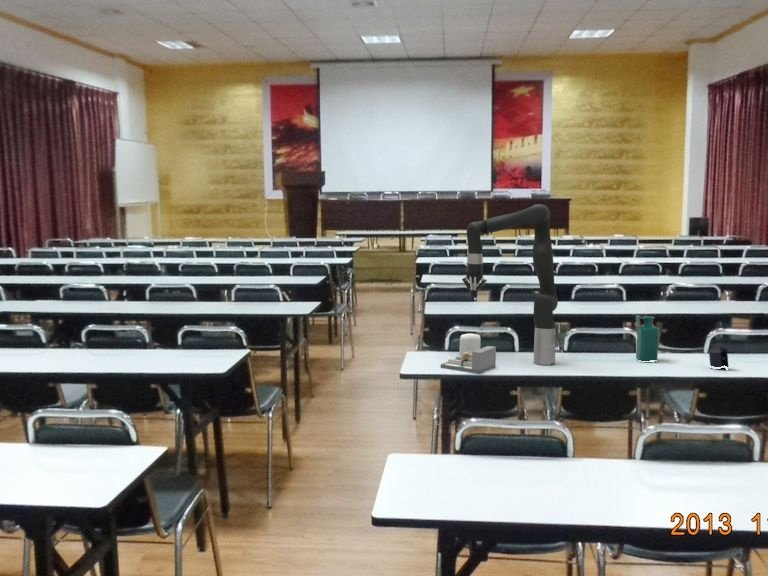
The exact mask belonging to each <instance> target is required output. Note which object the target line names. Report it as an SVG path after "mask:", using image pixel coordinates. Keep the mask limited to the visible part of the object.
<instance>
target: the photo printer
mask: <svg viewBox="0 0 768 576" xmlns="http://www.w3.org/2000/svg"><path fill="white" fill-rule="evenodd" d="M478 349H481V335H480V334H476V333H464V334H461V335H460V337H459V354H458V356H461V357H462V353H465V352H468V351H469V352H473V351H475V350H478Z"/></svg>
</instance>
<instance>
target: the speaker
mask: <svg viewBox="0 0 768 576" xmlns="http://www.w3.org/2000/svg"><path fill="white" fill-rule="evenodd" d="M728 355H729V354H728V348H726V347H722V346H719V349H711V350H709V351H708V357H709V365H711V366H714V367H721V366H724V365H725V366H727V367H729V356H728Z"/></svg>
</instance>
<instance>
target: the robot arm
mask: <svg viewBox="0 0 768 576" xmlns="http://www.w3.org/2000/svg"><path fill="white" fill-rule="evenodd" d="M530 224H532V225H533V230H534V231H533V232H534V237H533V238H534V240H533V245H532V261H533V264H532V265H533V269H534V273H535V274H536V278H537V279H538V283H539V295H537V296H536V297H535V299H534V303H533V322H534V340H533V341H534V342H533V344H534V345H533V363H534V364H536V365H541V366H552V365H554V364H555V363H556V345H557V343H555V336H556V335H555V329H556V323H555V321H554V313H553V312H554V311H556V309H557V307H558V301H559V300H558V296H557V291H556V286H555V285H556V284H555V272H554V271H555V270H554V268H555V267H554V255H553V254H554V253H553V245H552V238H551V211H550V209H549V207H548V206H547V205H546V204H543V203H542V204H541V203H536V204H533V205H531V206H529V207H527V208H525V209H522V210H519V211H515V212H513V213H508V214H507V213H506V214H502V215H498V216H492V217H490V218H487V219H484V220H479V221H472V222H470V223H468V225H467V227H466V238H467V245H468V246H467V257H466V263H467V264H466V276H465V277H463V278H462V279H461V280H462V282H463V283H464V285H465V286H466V288H467V289H468V290H470V297H471V298H472V299H476V298H477V297H478V291H479V290H481V289H482V288H483V287H484V286H485V284H486V283H487V282H488V280H487V279H486V278H484V275H483V269H484V267H483V266H484V265H483V262H484V258H483V257H484V256H483V242H482V241H481V239H482V238H481V236H483V235H487V234H490V233H495V232H500V231H501V232H502V231H505V230H508V229H511V228H514V227H518V226H521V225H530ZM554 362H555V363H554ZM553 363H554V364H553ZM551 364H552V365H551Z"/></svg>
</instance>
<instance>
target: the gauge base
mask: <svg viewBox="0 0 768 576" xmlns="http://www.w3.org/2000/svg"><path fill="white" fill-rule="evenodd" d="M496 353H497V347H496V346H493V345H492V346H491V345H486V346H484V347H480V349H478V350H475V351H473V352H472V362H467V361H465V362H463V366H461V361H462V357H461V356H459V355H456V356H455V358H454V359H452V358H448V360H447V361H446V362H444V363H441V364H440V368H442V369H448V370H454V371H460V372H466V373H473V374H477V375H478V374H482V373H486V372H487V371H490V370H492V369H494V368H496V366H497V365H496V363H497V361H496V360H497V359H496V358H497V354H496Z"/></svg>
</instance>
